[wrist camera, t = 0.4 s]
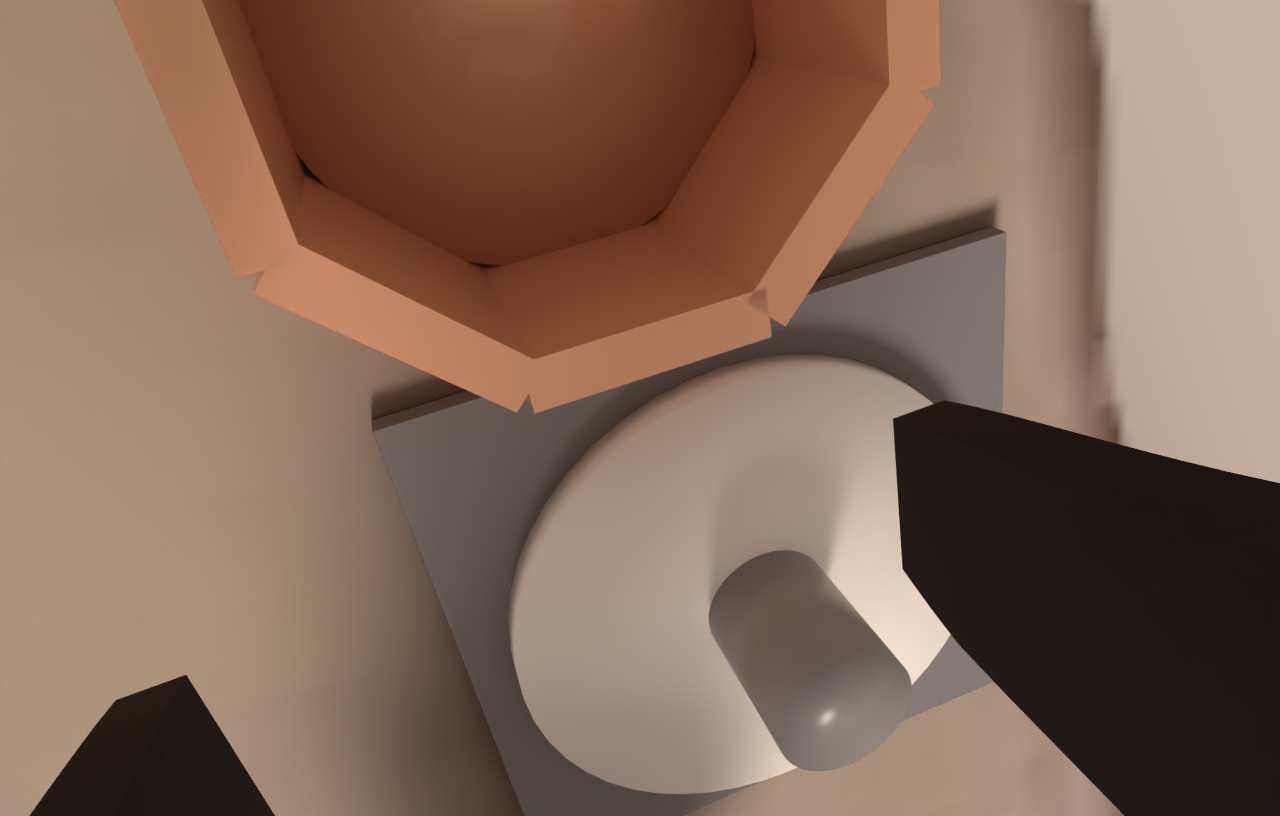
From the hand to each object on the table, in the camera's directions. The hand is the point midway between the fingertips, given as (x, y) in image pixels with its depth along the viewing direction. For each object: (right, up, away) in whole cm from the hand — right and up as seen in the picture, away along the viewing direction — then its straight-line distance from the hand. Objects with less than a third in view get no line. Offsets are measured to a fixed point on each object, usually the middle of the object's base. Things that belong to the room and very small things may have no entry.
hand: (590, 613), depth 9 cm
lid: (+3, -2, +13) cm, 13 cm away
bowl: (-2, +9, +6) cm, 11 cm away
